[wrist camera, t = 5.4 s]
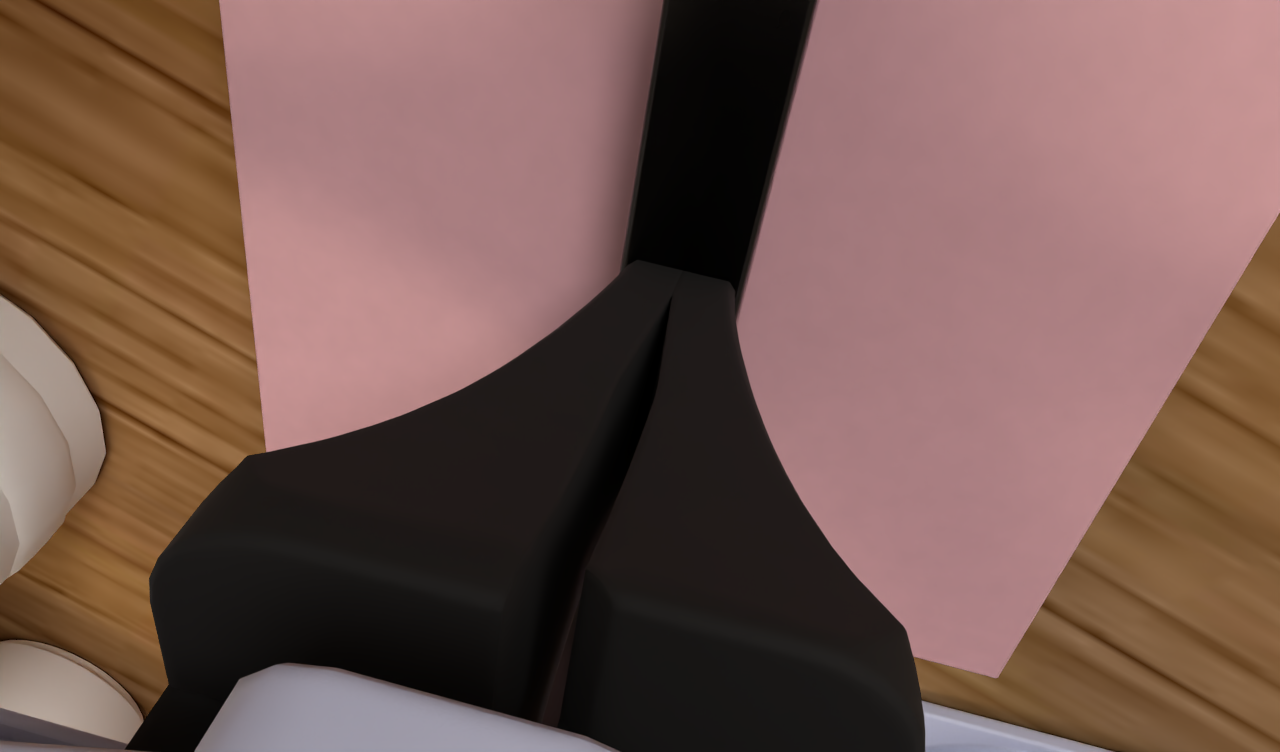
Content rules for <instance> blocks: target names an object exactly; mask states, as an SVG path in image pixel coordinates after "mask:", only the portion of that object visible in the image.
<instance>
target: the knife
mask: <svg viewBox="0 0 1280 752" xmlns="http://www.w3.org/2000/svg"><path fill="white" fill-rule="evenodd" d="M816 4H817V0H663V4H662V11H661V17H660V23H659V29H658V35H657V42H656V48H655V54H654V60H653V67H652V73H651V79H650V85H649V91H648V98H647V104H646V110H645V116H644V123H643V129H642V135H641V141H640V147H639V154H638V160H637V166H636V172H635V179H634V185H633V191H632V197H631V203H630V210H629V216H628V222H627V228H626V235H625V241H624V247H623V253H622V259H621V266H620V272H619V274H620V273H621V272H622V271H623V270H624V269H625V267H626V266H627V265H629V264H631V263H632V262H634V261H636V260H641V261H645V262H649V263H653V264H658V265H662V266H666V267H670V268H674V269H679V270H683V271H687V272H691V273H695V274H699V275H704V276H708V277H712V278H716V279H720V280H725V281H729V282H730V284H731V285H732V287H733V288H734V290H735V291H736V292H735V317H736V320H737V316H738V312H739V308H740V304H741V300H742V296H743V292H744V288H745V284H746V280H747V276H748V273H749V269H750V265H751V261H752V257H753V253H754V249H755V245H756V241H757V237H758V233H759V229H760V225H761V221H762V217H763V213H764V209H765V205H766V201H767V197H768V193H769V189H770V186H771V182H772V178H773V174H774V170H775V166H776V162H777V158H778V154H779V150H780V146H781V142H782V138H783V134H784V130H785V126H786V122H787V118H788V114H789V110H790V106H791V102H792V98H793V95H794V91H795V87H796V83H797V79H798V75H799V71H800V67H801V63H802V59H803V55H804V51H805V47H806V43H807V39H808V35H809V31H810V27H811V23H812V19H813V15H814V11H815V8H816Z"/></svg>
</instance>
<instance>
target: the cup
mask: <svg viewBox="0 0 1280 752" xmlns="http://www.w3.org/2000/svg"><path fill="white" fill-rule="evenodd" d="M0 708H3V709H7V710H10V711H14V712H17V713H21V714H24V715H28V716H31V717H35V718H38V719H42V720H46V721H49V722H53V723H56V724H60V725H63V726H67V727H70V728H74V729H77V730H81V731H84V732H88V733H91V734H95V735H98V736H102V737H105V738H109V739H112V740H116V741H119V742H123V743H126V744H128V743H129V742H130V741H131V739H132V738H133V736H134V735H135V733H136V732H137V730H138V729H139V727H140V726H141V724H142V723H143V722H144V720H143V716H142V714H141V712H140V710H139V708H138V706H137V704H136V703H135V701H134V700H133V699H132V697H131V696H130V695H129V693H128V692H127V691H126V690H125V689H124V688H123V687H122V686H121V685H120V684H119V683H117V682H116V681H115V680H114V679H112V678H111V677H110V676H109V675H107V674H106V673H105V672H104V671H102V670H100V669H99V668H97V667H96V666H94V665H93V664H91V663H90V662H88V661H86V660H84V659H82V658H80V657H78V656H76V655H74V654H72V653H70V652H67V651H65V650H62V649H60V648H57V647H54V646H50V645H47V644H44V643H40V642H34V641H28V640H7V641H1V642H0Z"/></svg>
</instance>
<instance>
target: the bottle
mask: <svg viewBox="0 0 1280 752" xmlns="http://www.w3.org/2000/svg"><path fill="white" fill-rule="evenodd" d="M105 455H106V449H105V443H104V436H103V430H102V424H101V418H100V412H99V409H98V407H97V405H96V403H95V401H94V399H93V397H92V396H91V394H90V392H89V390H88V388H87V386H86V385H85V383H84V381H83V379H82V377H81V375H80V374H79V372H78V370H77V368H76V366H75V364H74V363H73V361H72V360H71V359H70V358H69V357H68V355H67V354H66V353H65V352H64V351H63V350H62V349H61V348H60V347H59V346H58V345H57V343H56V342H55V341H54V340H53V339H52V338H51V337H50V336H49V335H48V334H47V332H46V331H45V330H44V329H43V328H42V327H41V326H40V325H39V324H38V323H37V322H36V320H35V319H34V318H33V317H32V316H30V315H29V314H27V313H26V312H25V311H23V310H22V309H20V308H19V307H18V306H16V305H15V304H14V303H12V302H11V301H9V300H8V299H7V298H5V297H4V296H2V295H1V294H0V585H1V584H2V583H3V582H4V581H5V579H7V578H8V577H10V576H11V575H13V574H14V573H16V572H18V571H19V570H20V569H21V568H22V567H23V566H24V565H25V564H26V563H27V562H28V561H29V560H30V559H31V558H32V557H33V556H34V555H35V554H36V553H37V552H38V551H39V550H40V549H41V548H42V547H43V546H44V545H45V544H46V543H47V541H48V540H49V539H50V538H51V537H52V536H53V534H54V533H55V532H56V531H57V530H58V528H59V527H60V526H61V525H62V524H63V522H64V519H65V516H66V514H67V513H68V512H69V511H70V510H71V509H72V508H73V506H74V505H75V504H76V503H77V502H78V501H79V500H80V499H81V498H82V497H83V496H84V495H85V494H86V492H87V491H88V490H89V489H90V488H91V487H92V486H93V485H94V484H95V481H96V479H97V476H98V473H99V471H100V468H101V465H102V463H103V460H104V457H105Z"/></svg>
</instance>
